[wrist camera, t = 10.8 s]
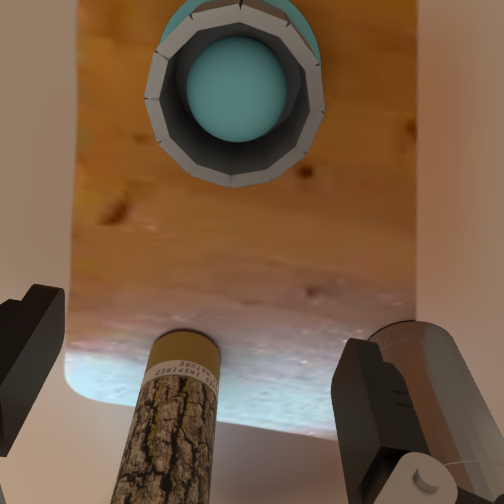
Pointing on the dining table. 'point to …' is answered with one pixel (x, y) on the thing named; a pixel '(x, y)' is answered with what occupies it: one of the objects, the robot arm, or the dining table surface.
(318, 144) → the dining table surface
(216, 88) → the ball
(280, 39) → the grey ribbed round container
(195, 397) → the bark textured cylinder
